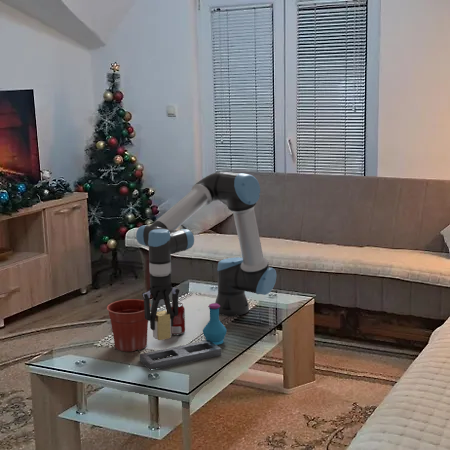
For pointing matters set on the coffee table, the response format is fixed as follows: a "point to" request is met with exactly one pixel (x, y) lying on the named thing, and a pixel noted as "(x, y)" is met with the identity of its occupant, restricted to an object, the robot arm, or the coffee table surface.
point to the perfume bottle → (214, 326)
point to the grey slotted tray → (180, 354)
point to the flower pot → (128, 324)
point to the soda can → (179, 320)
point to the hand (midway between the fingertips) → (162, 336)
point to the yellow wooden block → (163, 325)
